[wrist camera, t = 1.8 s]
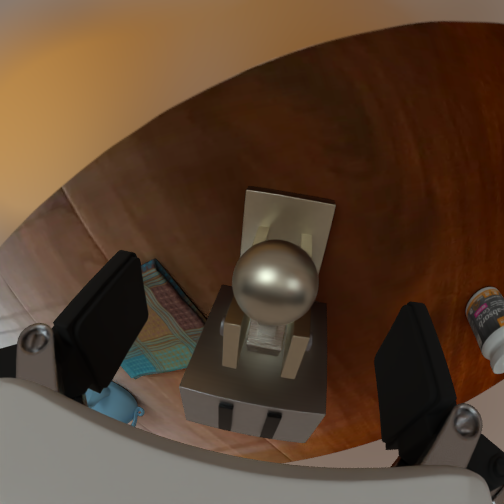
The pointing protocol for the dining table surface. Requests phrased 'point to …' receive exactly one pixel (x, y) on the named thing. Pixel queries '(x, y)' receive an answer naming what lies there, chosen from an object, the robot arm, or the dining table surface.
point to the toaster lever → (273, 291)
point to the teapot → (115, 403)
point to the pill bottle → (488, 325)
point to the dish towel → (164, 327)
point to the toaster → (256, 383)
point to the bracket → (283, 228)
